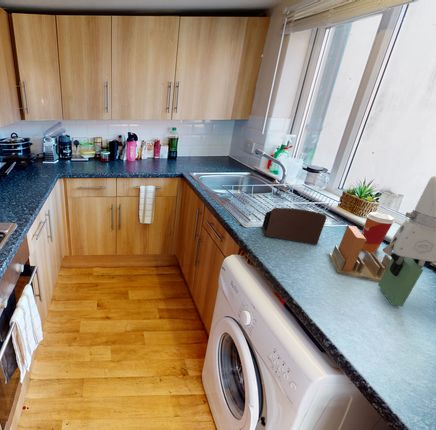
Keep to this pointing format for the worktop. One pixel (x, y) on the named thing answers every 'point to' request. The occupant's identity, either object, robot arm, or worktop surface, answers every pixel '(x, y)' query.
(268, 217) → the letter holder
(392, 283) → the green book
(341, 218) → the worktop surface
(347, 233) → the orange book
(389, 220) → the coffee cup
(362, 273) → the book rack
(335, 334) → the worktop surface
